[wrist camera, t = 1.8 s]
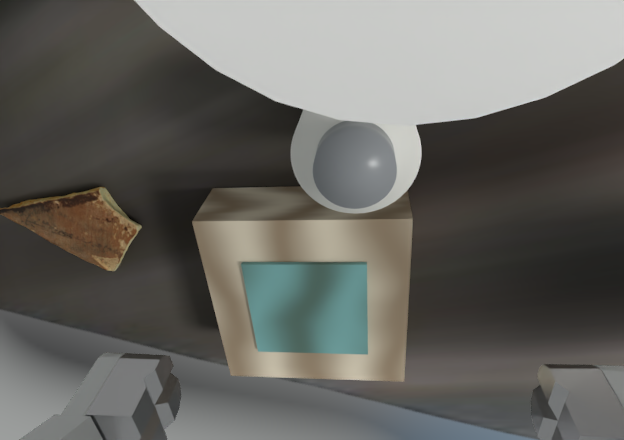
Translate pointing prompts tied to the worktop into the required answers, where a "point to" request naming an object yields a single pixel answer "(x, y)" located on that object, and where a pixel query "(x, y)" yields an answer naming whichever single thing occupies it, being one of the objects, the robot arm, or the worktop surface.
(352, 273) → the birch plinth
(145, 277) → the worktop surface
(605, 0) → the cylindrical container
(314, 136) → the white bottle
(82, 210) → the shard
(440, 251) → the worktop surface
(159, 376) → the robot arm
